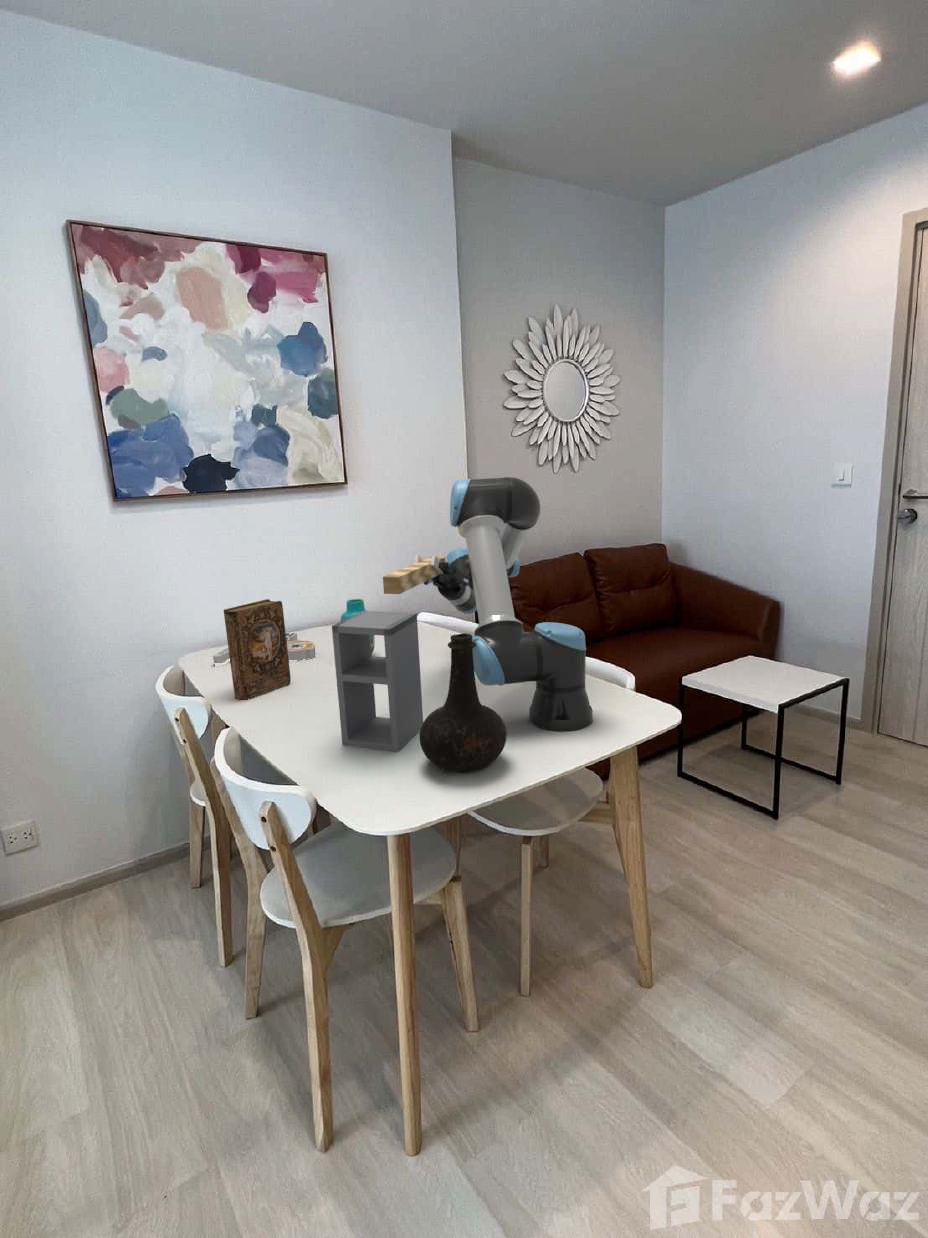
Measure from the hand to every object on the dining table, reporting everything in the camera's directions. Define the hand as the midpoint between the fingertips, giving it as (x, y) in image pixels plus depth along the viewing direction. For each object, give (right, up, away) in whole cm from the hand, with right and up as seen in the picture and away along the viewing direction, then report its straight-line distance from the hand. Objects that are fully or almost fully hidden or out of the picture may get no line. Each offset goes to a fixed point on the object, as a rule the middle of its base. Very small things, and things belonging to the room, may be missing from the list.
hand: (424, 560), depth 174 cm
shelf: (-8, -43, -18) cm, 47 cm away
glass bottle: (+10, -46, -33) cm, 58 cm away
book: (-47, -36, +16) cm, 61 cm away
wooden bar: (-2, -6, -4) cm, 7 cm away
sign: (-53, -28, +52) cm, 79 cm away
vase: (-24, -28, +44) cm, 57 cm away
